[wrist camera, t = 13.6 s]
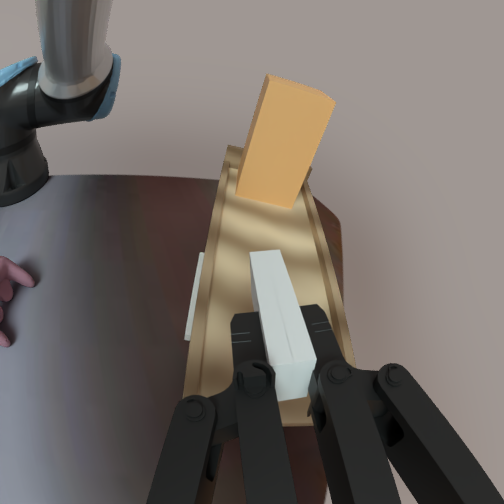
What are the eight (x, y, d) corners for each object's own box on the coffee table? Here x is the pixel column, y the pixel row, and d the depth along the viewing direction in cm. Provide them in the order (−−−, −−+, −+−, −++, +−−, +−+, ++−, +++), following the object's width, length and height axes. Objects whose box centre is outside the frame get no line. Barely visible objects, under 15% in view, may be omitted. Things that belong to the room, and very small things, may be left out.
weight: (237, 169, 37) (266, 73, 28) (286, 181, 38) (320, 90, 29) (235, 195, 32) (269, 80, 23) (291, 209, 33) (336, 102, 24)
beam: (217, 186, 40) (228, 144, 35) (295, 204, 42) (311, 166, 37) (179, 424, 16) (183, 403, 12) (330, 429, 18) (381, 406, 14)
